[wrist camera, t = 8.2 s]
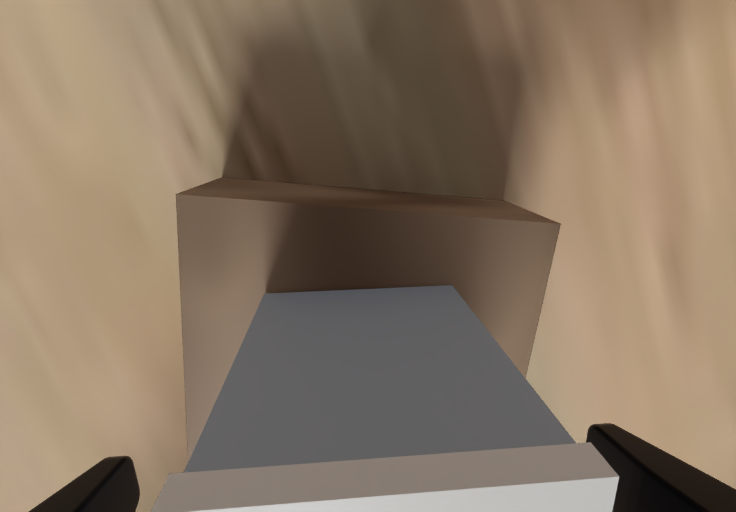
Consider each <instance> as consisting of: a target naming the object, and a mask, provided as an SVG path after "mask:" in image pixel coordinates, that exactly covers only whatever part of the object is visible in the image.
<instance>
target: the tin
mask: <svg viewBox="0 0 736 512" xmlns="http://www.w3.org/2000/svg"><path fill="white" fill-rule="evenodd" d="M618 481H619V476H618V474H617V473H616V472H615V471H614V470H613V468H612V467H611V466H610V465H609V464H608V462H607V461H606V460H605V459H604V458H603V456H602V455H601V454H600V453H599V452H598V450H597V449H596V448H595V447H594V446H593V444H592V443H591V442H588V443H576V442H575V441H574V440H573V439H572V437H571V436H570V435H569V433H568V432H567V431H566V430H565V428H564V427H563V426H562V425H561V423H560V422H559V421H558V419H557V418H556V417H555V416H554V414H553V413H552V412H551V411H550V409H549V408H548V407H547V405H546V404H545V403H544V402H543V400H542V399H541V398H540V397H539V395H538V394H537V393H536V391H535V390H534V389H533V388H532V386H531V385H530V384H529V382H528V381H527V380H526V379H525V377H524V376H523V375H522V374H521V372H520V371H519V370H518V368H517V367H516V366H515V365H514V363H513V362H512V361H511V360H510V358H509V357H508V356H507V354H506V353H505V352H504V351H503V349H502V348H501V347H500V346H499V344H498V343H497V342H496V340H495V339H494V338H493V337H492V335H491V334H490V333H489V332H488V330H487V329H486V328H485V326H484V325H483V324H482V323H481V321H480V320H479V319H478V317H477V316H476V315H475V314H474V312H473V311H472V310H471V309H470V307H469V306H468V305H467V303H466V302H465V301H464V300H463V298H462V297H461V296H460V295H459V293H458V292H457V291H456V289H455V288H454V287H453V286H452V285H445V286H422V287H400V288H378V289H356V290H334V291H311V292H289V293H267V294H264V295H263V297H262V299H261V302H260V304H259V306H258V308H257V311H256V313H255V315H254V317H253V319H252V322H251V324H250V326H249V328H248V331H247V333H246V335H245V337H244V340H243V342H242V344H241V346H240V348H239V351H238V353H237V355H236V357H235V360H234V362H233V364H232V366H231V368H230V371H229V373H228V375H227V377H226V380H225V382H224V384H223V386H222V389H221V391H220V393H219V395H218V397H217V400H216V402H215V404H214V406H213V409H212V411H211V413H210V415H209V417H208V420H207V422H206V424H205V426H204V429H203V431H202V433H201V435H200V437H199V440H198V442H197V444H196V446H195V449H194V451H193V453H192V455H191V458H190V460H189V462H188V464H187V466H186V469H185V471H184V473H172V474H169V476H168V478H167V480H166V482H165V484H164V486H163V488H162V490H161V492H160V494H159V496H158V498H157V500H156V502H155V504H154V506H153V508H152V510H151V512H612V511H613V506H614V501H615V496H616V491H617V486H618Z"/></svg>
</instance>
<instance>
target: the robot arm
mask: <svg viewBox="0 0 736 512" xmlns="http://www.w3.org/2000/svg"><path fill="white" fill-rule="evenodd" d="M588 442H591V443H592V444H593V446H594V447H595V448H596V449H597V450H598V452H599V453H600V454H601V455H602V456H603V458H604V459H605V460H606V461H607V462H608V464H609V465H610V466H611V467H612V468H613V470H614V471H615V472H616V473H617V474H618V476H619V481H618V486H617V491H616V496H615V501H614V506H613V511H612V512H736V489H734V488H732V487H730V486H728V485H727V484H725V483H723V482H721V481H719V480H717V479H715V478H713V477H712V476H710V475H708V474H706V473H704V472H702V471H700V470H698V469H697V468H695V467H693V466H691V465H689V464H687V463H685V462H683V461H682V460H680V459H678V458H676V457H674V456H672V455H670V454H668V453H667V452H665V451H663V450H661V449H659V448H657V447H655V446H653V445H652V444H650V443H648V442H646V441H644V440H642V439H640V438H638V437H637V436H635V435H633V434H631V433H629V432H627V431H625V430H623V429H622V428H620V427H618V426H616V425H614V424H611V423H604V424H593V425H591V426H590V427H589V429H588V433H587V440H586V443H588ZM139 496H140V490H139V485H138V480H137V476H136V472H135V468H134V464H133V461H132V459H131V458H130V457H129V456H116V457H108V458H105V459H103V460H102V461H100V462H99V463H97V464H96V465H95V466H93V467H92V468H90V469H89V470H87V471H86V472H85V473H83V474H82V475H80V476H79V477H77V478H76V479H75V480H73V481H72V482H70V483H69V484H67V485H66V486H65V487H63V488H62V489H60V490H59V491H57V492H56V493H55V494H53V495H52V496H50V497H49V498H47V499H46V500H45V501H43V502H42V503H40V504H39V505H38V506H36V507H35V508H33V509H32V510H30V511H29V512H135V510H136V508H137V505H138V501H139Z"/></svg>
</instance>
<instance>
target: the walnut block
mask: <svg viewBox="0 0 736 512" xmlns="http://www.w3.org/2000/svg"><path fill="white" fill-rule="evenodd" d="M176 208H177V230H178V251H179V273H180V295H181V317H182V338H183V360H184V382H185V403H186V425H187V447H188V462H189V460H190V458H191V455H192V453H193V451H194V449H195V446H196V444H197V442H198V440H199V437H200V435H201V433H202V431H203V429H204V426H205V424H206V422H207V420H208V417H209V415H210V413H211V411H212V409H213V406H214V404H215V402H216V400H217V397H218V395H219V393H220V391H221V389H222V386H223V384H224V382H225V380H226V377H227V375H228V373H229V371H230V368H231V366H232V364H233V362H234V360H235V357H236V355H237V353H238V351H239V348H240V346H241V344H242V342H243V340H244V337H245V335H246V333H247V331H248V328H249V326H250V324H251V322H252V319H253V317H254V315H255V313H256V311H257V308H258V306H259V304H260V302H261V299H262V297H263V295H264V294H267V293H289V292H311V291H334V290H356V289H378V288H400V287H422V286H445V285H452V286H453V287H454V288H455V289H456V291H457V292H458V293H459V295H460V296H461V297H462V298H463V300H464V301H465V302H466V303H467V305H468V306H469V307H470V309H471V310H472V311H473V312H474V314H475V315H476V316H477V317H478V319H479V320H480V321H481V323H482V324H483V325H484V326H485V328H486V329H487V330H488V332H489V333H490V334H491V335H492V337H493V338H494V339H495V340H496V342H497V343H498V344H499V346H500V347H501V348H502V349H503V351H504V352H505V353H506V354H507V356H508V357H509V358H510V360H511V361H512V362H513V363H514V365H515V366H516V367H517V368H518V370H519V371H520V372H521V374H522V375H523V376H524V377H525V378H526V374H527V369H528V365H529V361H530V356H531V352H532V347H533V343H534V339H535V334H536V330H537V326H538V321H539V317H540V312H541V308H542V304H543V299H544V295H545V290H546V286H547V282H548V277H549V273H550V269H551V264H552V260H553V255H554V251H555V247H556V242H557V238H558V233H559V229H560V225H561V224H560V223H557V222H555V221H553V220H550V219H548V218H545V217H543V216H540V215H538V214H535V213H533V212H530V211H528V210H526V209H523V208H521V207H518V206H516V205H513V204H511V203H508V202H506V201H504V200H492V199H479V198H467V197H455V196H443V195H430V194H418V193H406V192H393V191H381V190H369V189H357V188H344V187H332V186H320V185H308V184H295V183H283V182H271V181H259V180H246V179H234V178H219V179H216V180H214V181H211V182H208V183H205V184H203V185H200V186H197V187H194V188H191V189H189V190H186V191H183V192H180V193H178V194H176Z"/></svg>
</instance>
